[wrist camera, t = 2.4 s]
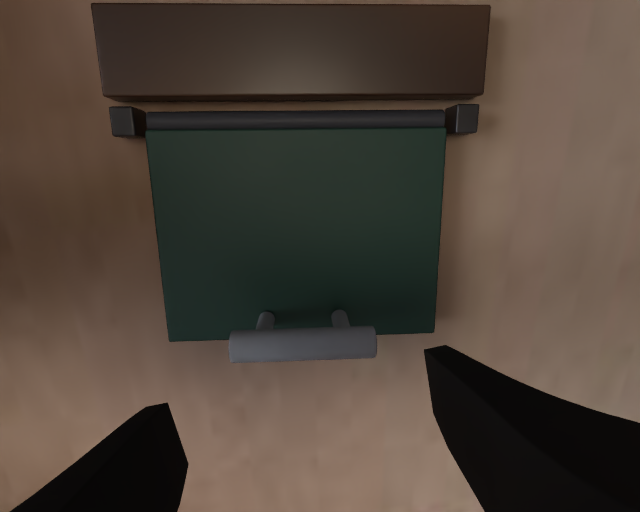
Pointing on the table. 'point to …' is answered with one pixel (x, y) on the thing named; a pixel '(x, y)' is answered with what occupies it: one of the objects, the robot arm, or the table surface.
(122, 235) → the table surface
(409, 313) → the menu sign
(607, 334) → the table surface
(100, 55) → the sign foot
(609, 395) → the table surface
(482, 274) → the table surface
